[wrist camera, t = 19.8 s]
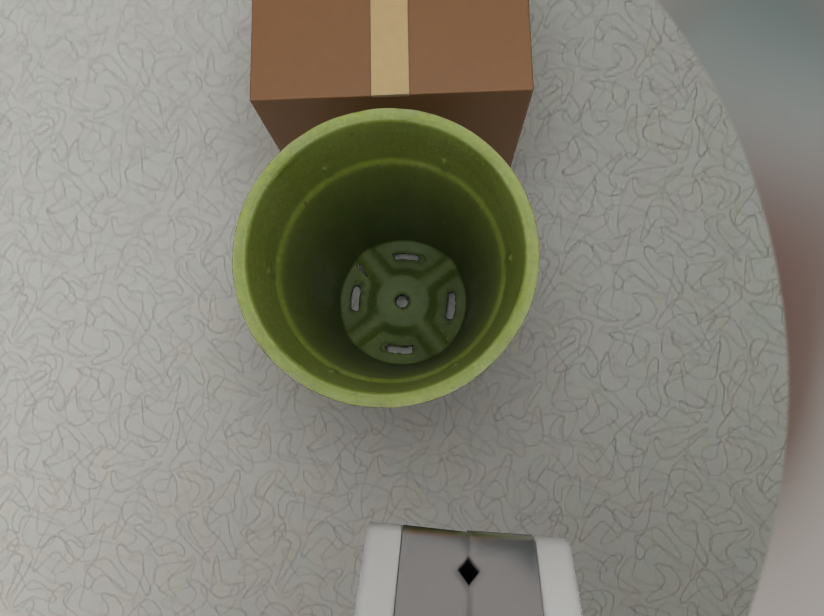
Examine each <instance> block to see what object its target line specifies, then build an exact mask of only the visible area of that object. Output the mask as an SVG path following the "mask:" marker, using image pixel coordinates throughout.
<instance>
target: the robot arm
mask: <svg viewBox="0 0 824 616" xmlns="http://www.w3.org/2000/svg"><path fill="white" fill-rule="evenodd" d="M353 616H583V613H582V607H581V601H580V596H579V590H578V584H577V579H576V573H575V567H574V562H573V556H572V551H571V545H570V544H569V542H568V540H567V539H565V538H554V537H540V536H532V535H526V534H511V533H496V532H482V531H467V532H463V531H454V530H444V529H435V528H426V527H417V526H408V525H403V526H402V525H399V524H388V523H377V522H370V523H369V526H368V529H367V532H366V538H365V544H364V551H363V557H362V564H361V570H360V576H359V583H358V589H357V595H356V602H355V608H354V614H353Z"/></svg>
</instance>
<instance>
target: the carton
mask: <svg viewBox="0 0 824 616" xmlns="http://www.w3.org/2000/svg"><path fill="white" fill-rule="evenodd" d="M533 90H534V86H533V68H532V50H531V33H530V15H529V0H252V33H251V74H250V101H251V103H252V105H253V106H254V108H255V110H256V111H257V113H258V115H259V116H260V118H261V120H262V121H263V123H264V125H265V126H266V128H267V130H268V131H269V133H270V135H271V136H272V138H273V140H274V141H275V143H276V145H277V146H278V148H279V150H280V151H281V150H283V149H284V148H285V147H286V146H287V145H288V144H290V143H291V142H292V141H293V140H295V139H296V138H298V137H299V136H301V135H302V134H304V133H306V132H307V131H309V130H310V129H312V128H314V127H316V126H318V125H320V124H322V123H324V122H326V121H328V120H331V119H333V118H336V117H339V116H343V115H346V114H350V113H355V112H359V111H363V110H369V109H378V108H398V109H411V110H417V111H422V112H426V113H430V114H433V115H437V116H440V117H442V118H445V119H448V120H450V121H452V122H455V123H457V124H459V125H461V126H463V127H464V128H466V129H468V130H469V131H471V132H473V133H474V134H476V135H477V136H478V137H480V138H481V139H482V140H484V141H485V142H486V143H487V144H488V145H490V146H491V147H492V148H493V149H494V150H495V151H496V152H497V153H498V154H499V155H500V156H501V157H502V158H503V159H504V160H505V162H506V163H507V164H508V165H509V167H510V166H511V163H512V159H513V156H514V153H515V150H516V146H517V143H518V140H519V136H520V133H521V130H522V126H523V123H524V120H525V116H526V113H527V110H528V106H529V103H530V100H531V96H532V93H533Z"/></svg>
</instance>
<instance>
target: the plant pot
mask: <svg viewBox="0 0 824 616" xmlns="http://www.w3.org/2000/svg"><path fill="white" fill-rule="evenodd" d="M402 253H412V254H417V255H419V257H420V258H419V260H418V261H414V260H405V259H401V260H395V259H394V255H392V254H402ZM539 262H540V248H539V237H538V231H537V225H536V221H535V217H534V214H533V210H532V207H531V204H530V202H529V199H528V197H527V195H526V192H525V190H524V189H523V187H522V185H521V183H520V181H519V179H518V178H517V176H516V175H515V173H514V172H513V171H512V169H511V168H510V167H509V165H508V164H507V163H506V162H505V160H504V159H503V158H502V157H501V156H500V155H499V154H498V153H497V152H496V151H495V150H494V149H493V148H492V147H491V146H490V145H488V144H487V143H486V142H485V141H484V140H482V139H481V138H480V137H478V136H477V135H476V134H474V133H473V132H471V131H469V130H468V129H466V128H464V127H463V126H461V125H459V124H457V123H455V122H452V121H450V120H448V119H445V118H442V117H440V116H437V115H433V114H430V113H426V112H422V111H417V110H411V109H398V108H378V109H369V110H363V111H359V112H355V113H350V114H346V115H343V116H339V117H336V118H333V119H331V120H328V121H326V122H324V123H322V124H320V125H318V126H316V127H314V128H312V129H310V130H309V131H307V132H306V133H304V134H302V135H301V136H299V137H298V138H296V139H295V140H293V141H292V142H291V143H290V144H288V145H287V146H286V147H285V148H284V149H283V150H281V151H280V152H279V153H278V154H277V155H276V157H275V158H274V159H273V160H272V161H271V162H270V163H269V164H268V166H267V167H266V168H265V169H264V170H263V172H262V173H261V174H260V176H259V177H258V179H257V180H256V182H255V183H254V185H253V187H252V189H251V190H250V192H249V194H248V196H247V198H246V200H245V202H244V205H243V207H242V210H241V213H240V216H239V219H238V223H237V227H236V231H235V236H234V241H233V255H232V272H233V280H234V286H235V292H236V296H237V300H238V303H239V306H240V309H241V312H242V314H243V317H244V319H245V322H246V324H247V326H248V328H249V330H250V332H251V333H252V335H253V336H254V338H255V339H256V341H257V342H258V344H259V345H260V347H261V348H262V349H263V351H264V352H265V353H266V354H267V356H268V357H269V358H270V359H271V360H272V361H273V362H274V363H275V364H276V365H277V366H278V367H279V368H280V369H281V370H282V371H283V372H285V373H286V374H287V375H288V376H290V377H291V378H292V379H294V380H295V381H297V382H298V383H300V384H301V385H303V386H305V387H306V388H308V389H310V390H312V391H314V392H316V393H318V394H320V395H323V396H325V397H327V398H330V399H332V400H336V401H339V402H342V403H346V404H351V405H357V406H364V407H375V408H393V407H403V406H409V405H415V404H419V403H424V402H427V401H431V400H434V399H437V398H440V397H442V396H445V395H447V394H450V393H451V392H453V391H455V390H457V389H459V388H461V387H463V386H464V385H466V384H467V383H469V382H470V381H472V380H473V379H474V378H476V377H477V376H478V375H480V374H481V373H482V372H484V371H485V370H486V369H487V368H488V367H489V366H490V365H491V364H492V363H494V362H495V361H496V360H497V359H498V358H499V356H500V355H501V354H502V353H503V352H504V351H505V349H506V348H507V347H508V345H509V344H510V343H511V341H512V340H513V338H514V337H515V335H516V334H517V333H518V331H519V329H520V327H521V325H522V323H523V322H524V320H525V318H526V316H527V314H528V311H529V309H530V306H531V303H532V300H533V297H534V294H535V290H536V285H537V280H538V273H539ZM357 264H360V266H361V267H362V269H364V271H365V273H366V274H367V276H366V275H365V274H363V273H362V272H361V270H359V268H358V267H357ZM356 285H359V286H360V287H361V294H360V301H359V310H358V311H353V310H352V309H351V294H352V291H353V288H354V287H355V286H356ZM447 290H448V293H450V292H454V294H455V302H456V305H455V313H454V317H453V319H452V320H449V319H447V318H446V316H445V315H446V310H447V301H448V296H447ZM399 295H406V296H407V298H408V299H409V303H408V305H407V306H406V307H404V308H400V307H398V306H397V304H396V298H397V297H398V296H399ZM443 333H444V334H445V336H444V334H443ZM447 339H448V340H447ZM367 343H368V344H367ZM388 344H390V345H395V346H410V345H413V353H411V354H401V353H397V354H394V353H389V352H387V351H386V348H387V346H388Z"/></svg>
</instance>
